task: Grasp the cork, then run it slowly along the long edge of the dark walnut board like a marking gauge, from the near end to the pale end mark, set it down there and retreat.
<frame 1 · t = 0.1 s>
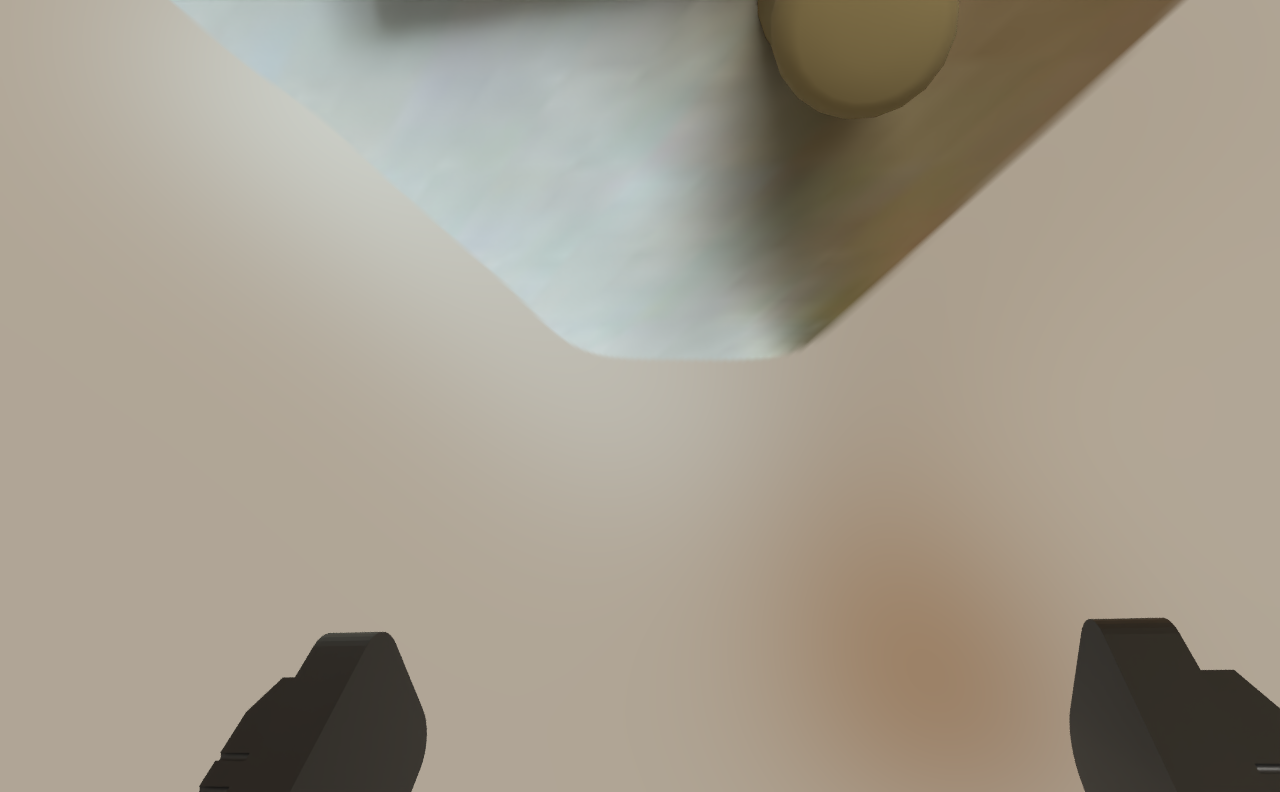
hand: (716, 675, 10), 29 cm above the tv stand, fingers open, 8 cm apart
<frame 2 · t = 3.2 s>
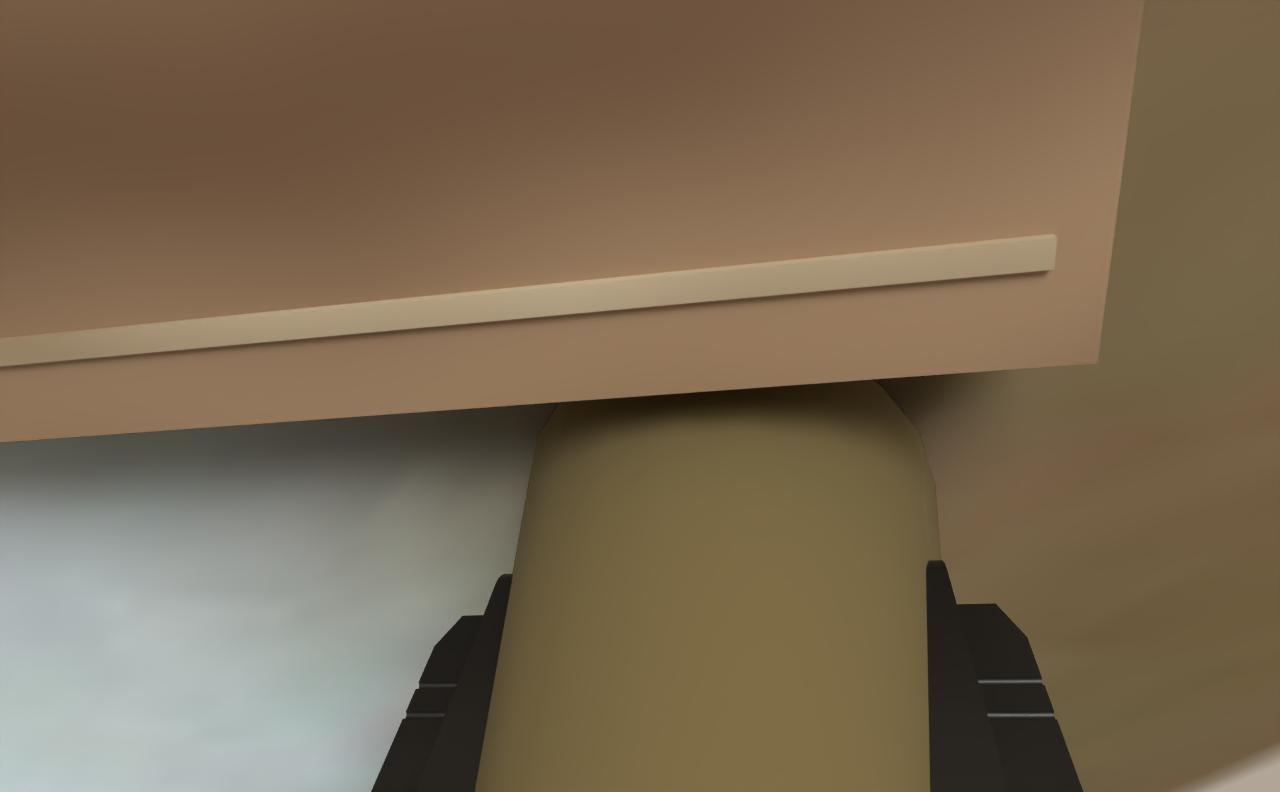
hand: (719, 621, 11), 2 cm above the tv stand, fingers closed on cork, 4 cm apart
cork: (726, 502, 13), on the tv stand, touching gripper
walnut board: (86, 47, 10), on the tv stand
when the fingers open (2 cm above the tv stand, at t = 8.2 s): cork stays where it is, on the tv stand.
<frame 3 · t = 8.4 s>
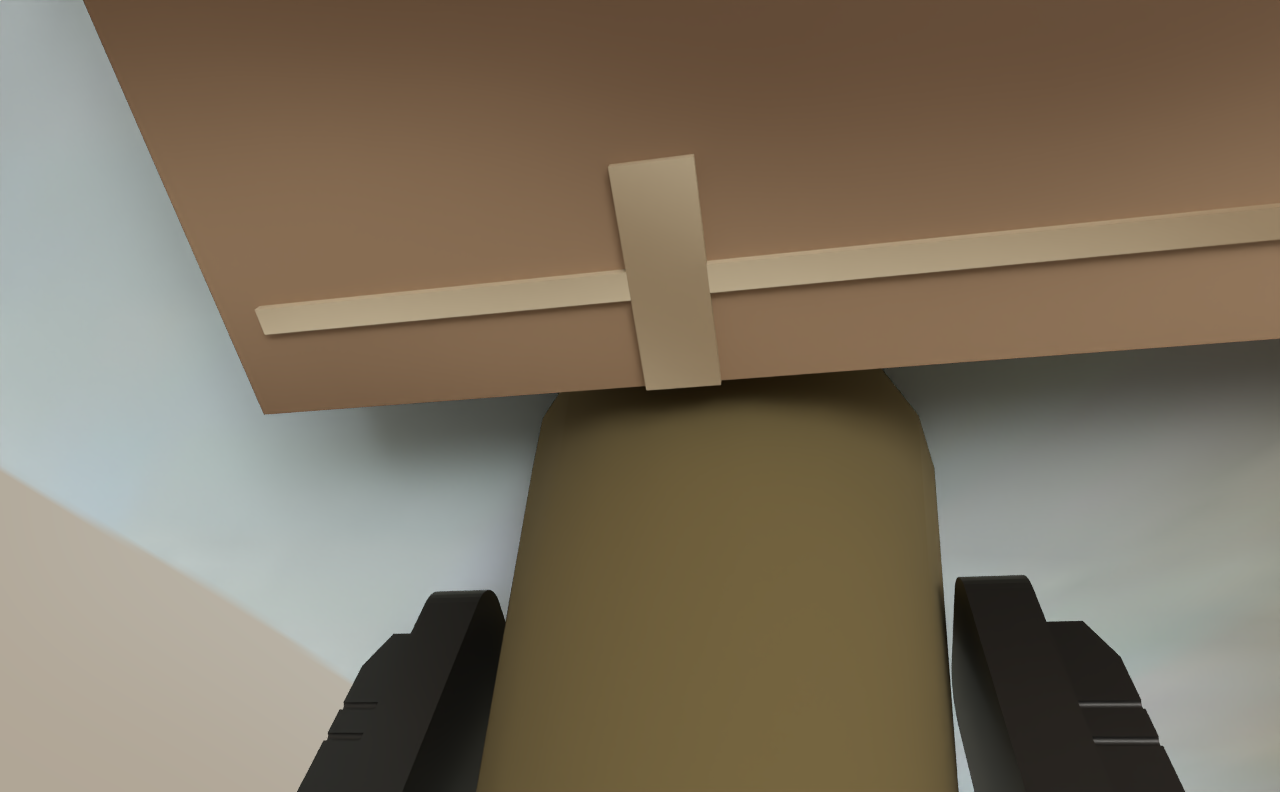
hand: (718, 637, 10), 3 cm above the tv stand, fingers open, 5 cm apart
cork: (727, 485, 13), on the tv stand
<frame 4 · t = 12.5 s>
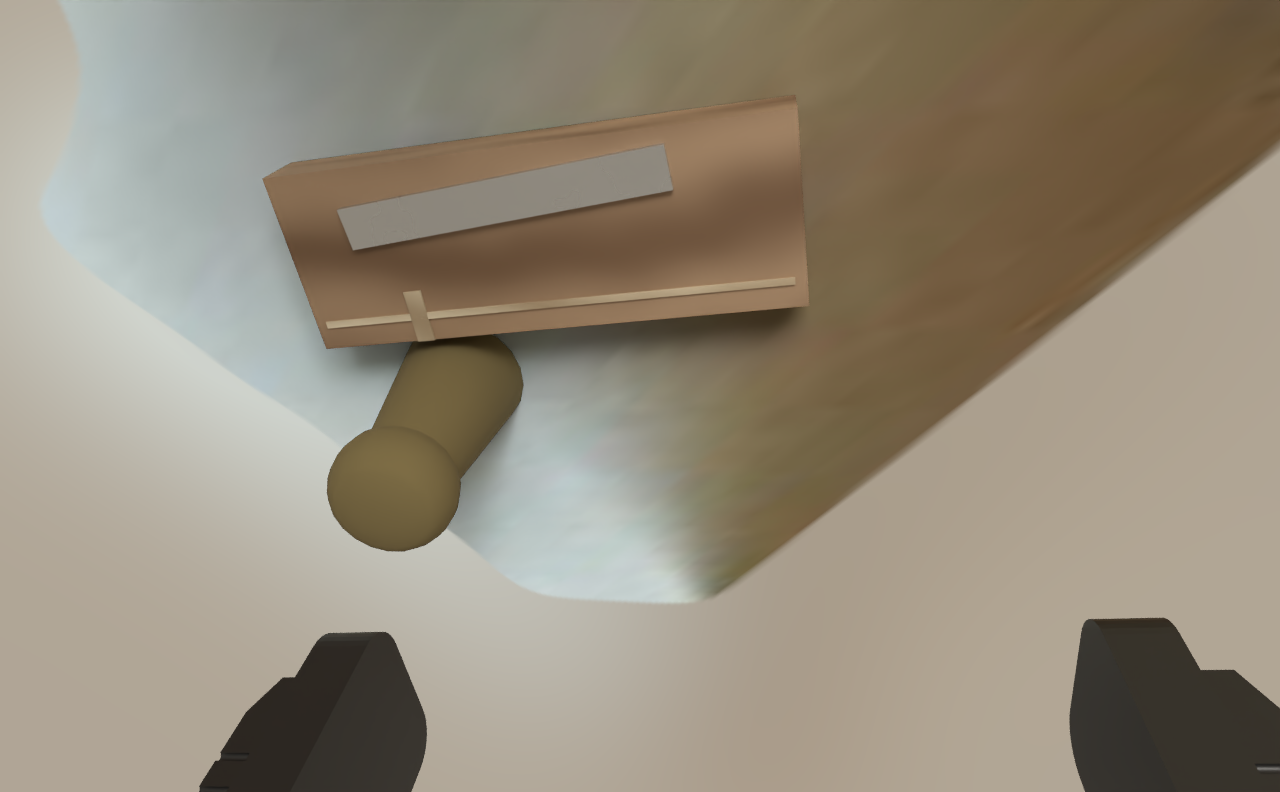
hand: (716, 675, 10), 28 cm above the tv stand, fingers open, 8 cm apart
steel ruler: (501, 198, 34), point 2 cm above the tv stand, touching walnut board
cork: (465, 375, 42), on the tv stand
walnut board: (548, 222, 37), on the tv stand
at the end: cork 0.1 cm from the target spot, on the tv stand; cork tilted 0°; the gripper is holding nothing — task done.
